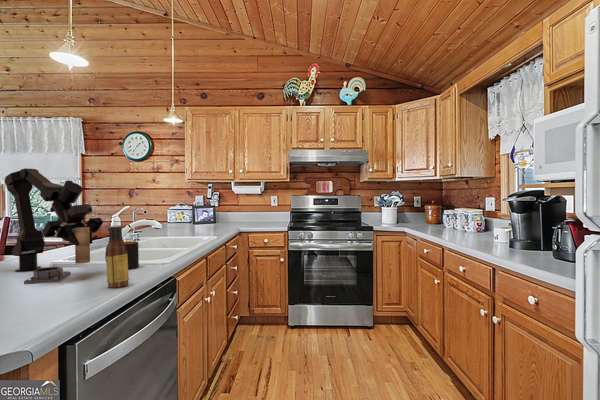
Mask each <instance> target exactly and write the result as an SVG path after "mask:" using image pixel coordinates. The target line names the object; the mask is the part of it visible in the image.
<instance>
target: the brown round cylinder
mask: <svg viewBox="0 0 600 400" xmlns="http://www.w3.org/2000/svg"><path fill="white" fill-rule="evenodd" d="M74 235H75V237H76V238H77V240H78V242H79V245H78V246H76V245H74V251H75V254H74V255H75V257H74V258H75V261H74V263H75V264H81V265H82V264H87V263H90V262H91V254H90V253H91V244H90V227H76V228H75V230H74Z"/></svg>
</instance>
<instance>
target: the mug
mask: <svg viewBox="0 0 600 400" xmlns="http://www.w3.org/2000/svg"><path fill="white" fill-rule="evenodd" d="M123 242H124V244H125V246H126V249H127V258H128V271H129V270H136V269H138V268H139V267H140V266H139V265H140V264H139V263H140V262H139V255H140V254H139V241H134V240H133V241H123ZM104 255H105V256H104V257H105V260H106V252H105V254H104Z"/></svg>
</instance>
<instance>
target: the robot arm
mask: <svg viewBox="0 0 600 400" xmlns="http://www.w3.org/2000/svg"><path fill="white" fill-rule="evenodd" d="M4 184H5V186H6V189H7V191H8V192H9V193H10V194H11V195H12V196H13V198H14V204H15V209H16V214H17V219H18V225H19V230H20V231H19V232H18V235H17V237H16V243H15V245H14V246H13V248H12V251H11V253H12V256H13V257H18V263H19V264H18V265H19V267H18V268H17V269H15V270H14V271H15V272H28V271H29V272H30V271H31V272H33V271H34V270H36V269H40V268H42V266H41V265H38V254H44V249H45V245H46V244H45V243H46V242H45V238H52V237H55V236H56V238H59V239H62V240H64V241H66V242H69V243H70V244H72V245H74V246H75V245H76V246H78V245H79V242H78V240H77V238H76V237H75V232H73V231H75V228H76V227H90V245H91V244H93V233H97V232H98V231H99V230H100V228H101V226H102V225H103V223H104V221H103V219H102V218H101V217H90V218H89V219H88V220H87V222H85V221H84V220H85V219H86V218H85V216H86V215H89V214H90V213H92V212H93V207H92V206H91V204H90V203H87V204H86V203H85V204H74V203H76V202H77V201H78V199H79V198H80V196H81V194H82V192H83V187H82V186H81V185H80V184H79V183H75V182H74V181H73V180H68V179H67V180H65V182H64V185H61V184H57V183H54V182H52V181H50V180H49V179H48V178H47V177H45V176H44V175H43V174H42V173H40V171H39V170H38V169H37V168H28V167H27V168H21V169H20V170H18V171H17V170H16V171H13V172H10V173H9V174H8V175H6V176H5V177H4ZM33 188H36V189H37V190H38V191H39V192H40V194H39V196H40V197H41V198H42V200H43V202H52V203H51V207H50V208H49V212H50V213H54V212H55V214H56V216H57V217H58V218H56V220H49V221H47V222H46V224H45V225H44V227H43V229H42V230H38V229H37V228H36V224H35V218H34V213H33V209H32V208H33V207H32V202H31V198H30V197H31V196H30V193H31V191H32V189H33ZM73 204H74V205H73ZM56 233H57V234H56ZM44 237H45V238H44Z"/></svg>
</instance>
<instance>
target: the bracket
mask: <svg viewBox="0 0 600 400" xmlns="http://www.w3.org/2000/svg"><path fill="white" fill-rule="evenodd" d="M63 270H64V268H63V267H61V266H47V267H40V268H38V269H36V270H32V274H33V275H32V276H31V277H30V278H28V279H25V280H24V281H23V284H24V285H33V284H47V283H59V282H60V281H63V278H64V279H65V278H67V277H68V276H70V275H71V271H66V270H65V271H63ZM66 276H67V277H66Z"/></svg>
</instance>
